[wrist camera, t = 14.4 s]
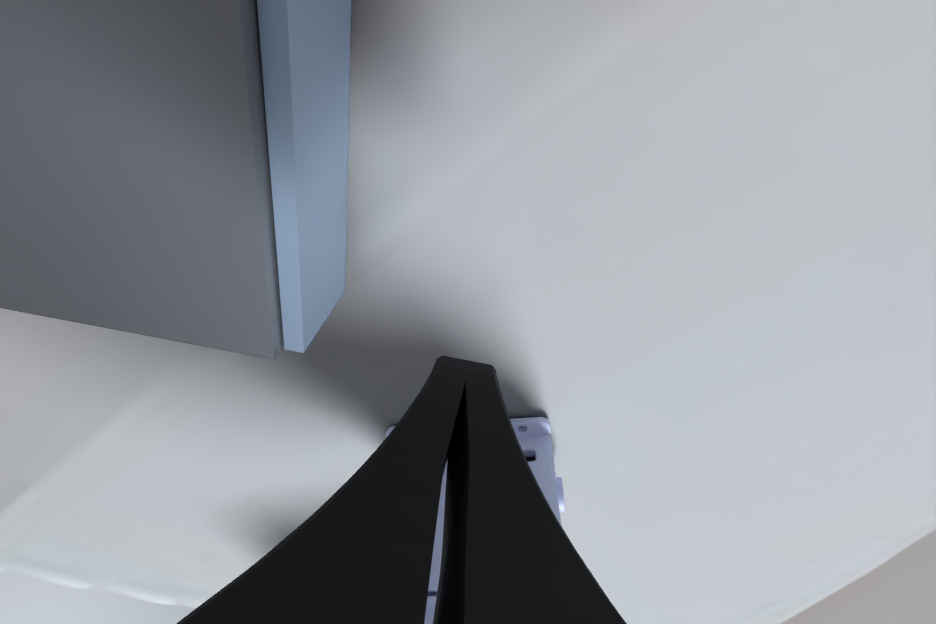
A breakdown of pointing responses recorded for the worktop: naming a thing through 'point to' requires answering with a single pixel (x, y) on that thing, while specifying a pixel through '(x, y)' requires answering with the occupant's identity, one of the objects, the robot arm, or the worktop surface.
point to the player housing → (138, 170)
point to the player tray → (307, 154)
